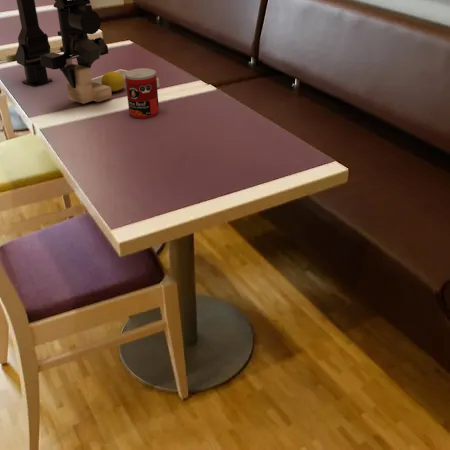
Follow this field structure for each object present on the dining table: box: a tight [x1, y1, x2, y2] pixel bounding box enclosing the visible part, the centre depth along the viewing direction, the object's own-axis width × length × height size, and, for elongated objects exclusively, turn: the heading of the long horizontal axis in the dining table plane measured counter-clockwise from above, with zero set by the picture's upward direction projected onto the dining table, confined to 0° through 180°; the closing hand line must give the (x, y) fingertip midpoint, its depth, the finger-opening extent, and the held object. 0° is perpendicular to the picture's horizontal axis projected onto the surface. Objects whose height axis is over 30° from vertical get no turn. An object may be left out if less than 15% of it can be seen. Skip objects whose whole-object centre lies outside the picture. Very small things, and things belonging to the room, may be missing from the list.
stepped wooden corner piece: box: [66, 63, 113, 105], centre depth 168 cm, size 10×8×9 cm
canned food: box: [125, 67, 160, 120], centre depth 159 cm, size 8×8×11 cm
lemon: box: [102, 71, 126, 92], centre depth 176 cm, size 6×6×8 cm
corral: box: [91, 68, 160, 89], centre depth 180 cm, size 16×12×2 cm
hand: (79, 86), depth 167 cm, fingers closed on stepped wooden corner piece, 3 cm apart
